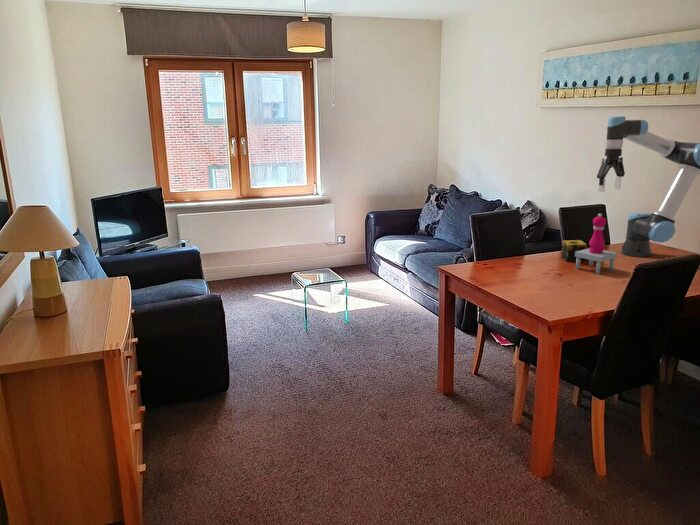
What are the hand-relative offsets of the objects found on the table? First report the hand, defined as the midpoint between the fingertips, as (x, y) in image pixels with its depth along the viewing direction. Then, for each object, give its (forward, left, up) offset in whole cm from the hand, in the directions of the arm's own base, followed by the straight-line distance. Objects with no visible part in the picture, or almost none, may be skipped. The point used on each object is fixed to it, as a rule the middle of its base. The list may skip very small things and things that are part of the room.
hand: (609, 190), depth 265 cm
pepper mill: (+14, +5, -30) cm, 33 cm away
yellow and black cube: (+6, -13, -39) cm, 42 cm away
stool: (+14, +5, -39) cm, 41 cm away
